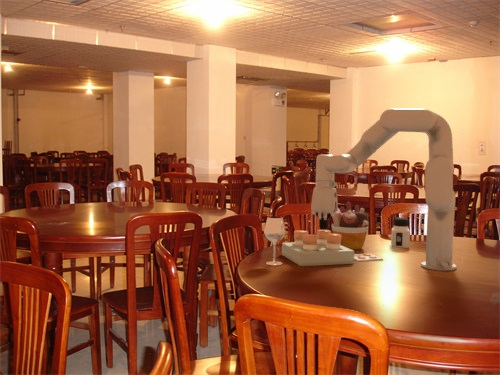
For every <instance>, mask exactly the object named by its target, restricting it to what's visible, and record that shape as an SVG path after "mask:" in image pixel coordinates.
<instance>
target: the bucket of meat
mask: <svg viewBox="0 0 500 375" xmlns="http://www.w3.org/2000/svg"><path fill="white" fill-rule="evenodd" d="M345 204H346V205H345V206H346V209H345V207H344V206H340V208H339V211H340V212H338V211H336V213H337V215H336V216H331V217H332V222H333V223H331V224H330V225H331V229H332V230H331V232H332V234H340V235H341V243H340V245H342V246H344V247H346V248H349V249H351V250H353V251H359V250H362V248H364V245H365V241H366V239H367V238H366V237H367V234H368V230H369V224H370V223H369V214H368V213H365V208H364V207H360V206H359V205H358V204H356V205H355V206H354V212H352V211H353V210H352V204H351V202H350V201H347V202H346V203H345Z"/></svg>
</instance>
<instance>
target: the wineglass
mask: <svg viewBox="0 0 500 375" xmlns="http://www.w3.org/2000/svg"><path fill="white" fill-rule="evenodd" d="M263 233H264V236H265V237H266V239H268V241H269V242H271V244H272V246H273V251H272V252H273V255H272V257H273V258H272V261H267V262H266V263H265V265H266V266H267V265H268V266H273V267H274V266H275V267H276V266H277V267H278V266H282V265H283V262H281V261H276V250H277V249H276V246H277V244H278V243H279V242H281V241H282V240H283V238H284V237H285V236H286V233H287V232H286V226H285V222H284V217H283V216H278V215H272V216H267V218H266V222H265V226H264V229H263Z"/></svg>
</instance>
